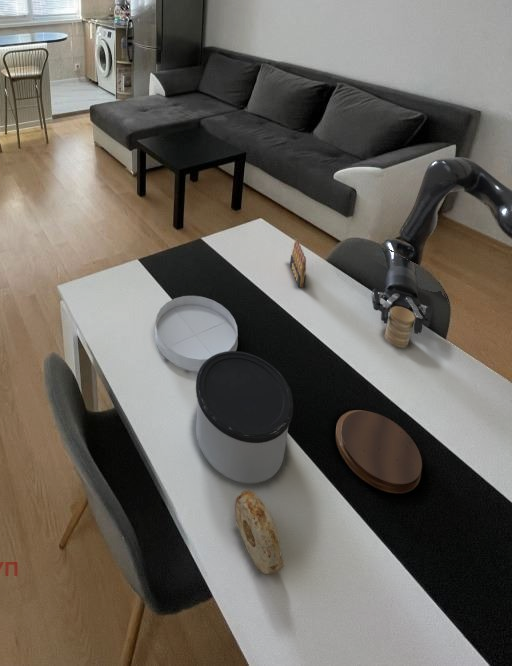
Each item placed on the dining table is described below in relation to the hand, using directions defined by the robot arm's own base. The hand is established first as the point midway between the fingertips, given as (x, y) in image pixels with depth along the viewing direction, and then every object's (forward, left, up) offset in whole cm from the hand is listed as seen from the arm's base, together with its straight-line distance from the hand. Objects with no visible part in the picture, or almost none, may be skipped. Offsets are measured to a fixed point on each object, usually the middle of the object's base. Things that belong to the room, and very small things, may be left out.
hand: (401, 326), depth 108 cm
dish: (+46, +23, -8) cm, 52 cm away
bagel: (+20, +59, -8) cm, 63 cm away
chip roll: (0, -2, -8) cm, 8 cm away
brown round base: (+3, +32, -8) cm, 33 cm away
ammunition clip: (+27, -15, -8) cm, 32 cm away
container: (+28, +43, -8) cm, 52 cm away
